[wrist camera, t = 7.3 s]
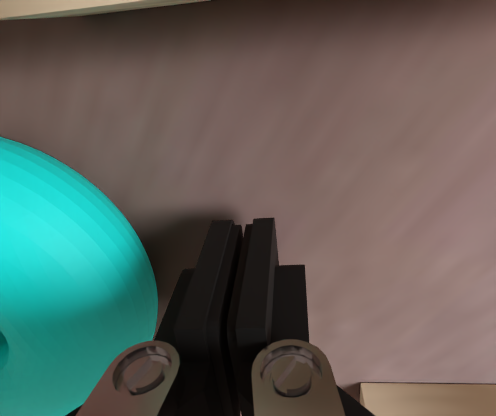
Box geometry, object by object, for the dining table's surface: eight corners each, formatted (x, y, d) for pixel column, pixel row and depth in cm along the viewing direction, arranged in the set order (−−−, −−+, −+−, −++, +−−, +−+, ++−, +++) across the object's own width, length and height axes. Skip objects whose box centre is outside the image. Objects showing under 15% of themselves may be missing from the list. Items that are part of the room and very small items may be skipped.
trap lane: (656, -115, 7) (1227, -303, 3) (499, 403, 14) (595, 584, 10) (-344, 25, 10) (-807, 40, 6) (-75, 392, 17) (-200, 524, 13)
